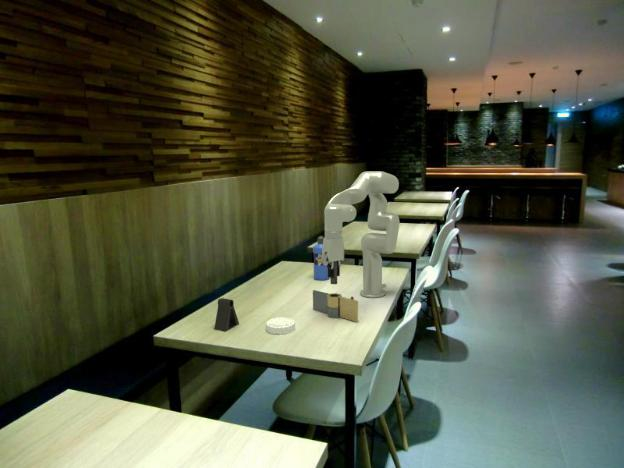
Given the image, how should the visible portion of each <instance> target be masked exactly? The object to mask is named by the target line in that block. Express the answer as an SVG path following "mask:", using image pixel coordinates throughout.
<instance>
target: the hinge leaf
mask: <svg viewBox="0 0 624 468" xmlns="http://www.w3.org/2000/svg"><path fill="white" fill-rule="evenodd" d="M327 306H328V307H331V308H338V307H340V317H339V318H342V319H346V320H349V321H352V322H355V323H356V322H359V301H358V300H355V299H354V300H352V299H350V298H348V297H343V296H342V294H341V293H337V292H336V293H333V292H332V293H328V295H327Z"/></svg>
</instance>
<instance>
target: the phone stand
mask: <svg viewBox="0 0 624 468" xmlns="http://www.w3.org/2000/svg"><path fill="white" fill-rule="evenodd" d="M234 304H235V303H234V300H233V299H230V298H229V299H228V298H222V297H220V298H218V300H217V310H216V316H215V322H214V328H213V329H214V330H218V331H221V332H228V331H229V330H231V329H234V328H235V327H237V326H239V325H240V321H239V319H238V315H237V312H236V309H235V305H234Z"/></svg>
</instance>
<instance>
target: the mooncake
mask: <svg viewBox="0 0 624 468" xmlns="http://www.w3.org/2000/svg"><path fill="white" fill-rule="evenodd" d="M295 321H296V320H294V318H290V317H286V316H278V317H273V318H271V319H269V320H267V321H266V322H265V330H266V332H267V333H268V334H271V335H286V334H290V333H293V332H294V331H295V330H296V322H295Z"/></svg>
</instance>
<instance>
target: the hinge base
mask: <svg viewBox="0 0 624 468" xmlns="http://www.w3.org/2000/svg"><path fill="white" fill-rule="evenodd" d="M328 294H329V293H328V292H323V291H321V290H316V289H313V290H312V311H317V312H319V313H322V314H326V315H327V318H331V319H338V318H339V319H340V318H341V317H340V307H338V308H331V307H328V306H327V295H328Z"/></svg>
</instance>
